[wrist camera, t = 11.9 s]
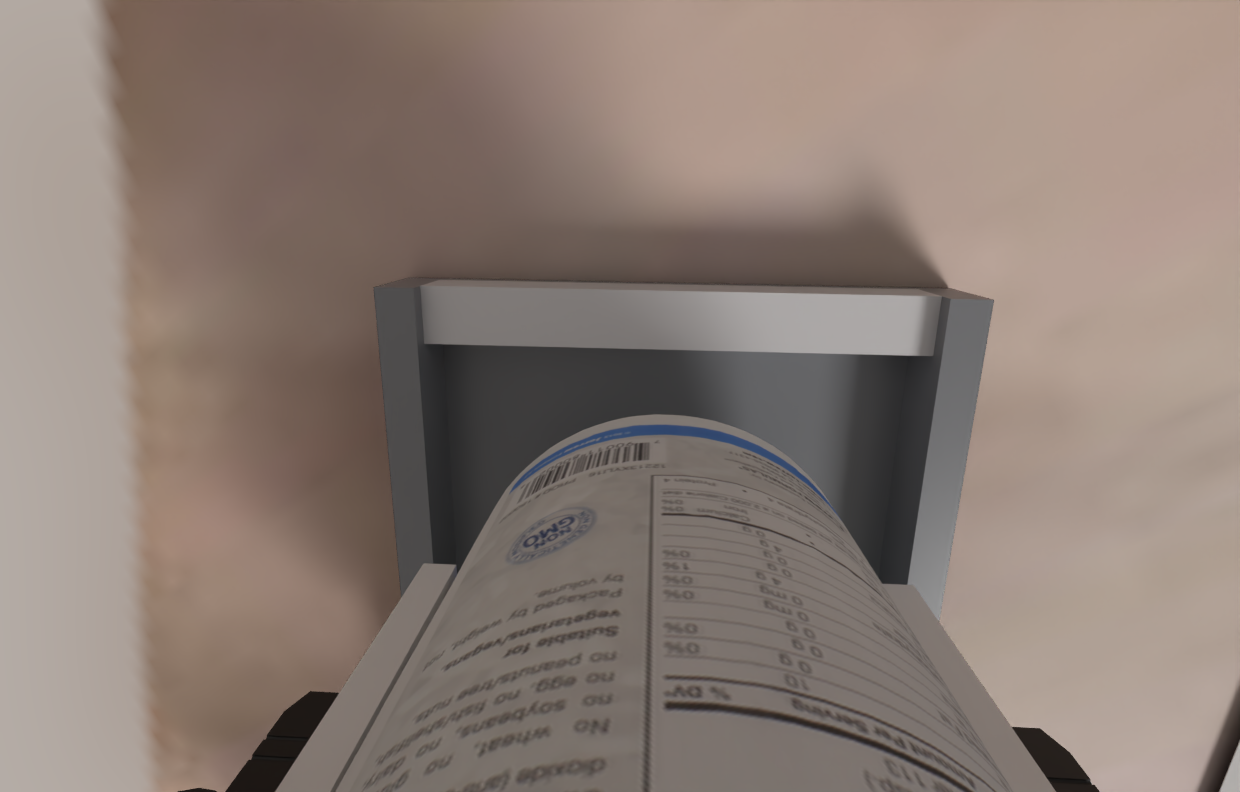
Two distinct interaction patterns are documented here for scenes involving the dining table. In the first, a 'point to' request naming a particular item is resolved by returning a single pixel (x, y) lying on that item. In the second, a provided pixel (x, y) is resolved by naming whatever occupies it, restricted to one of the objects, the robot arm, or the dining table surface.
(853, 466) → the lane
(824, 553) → the supplement tub
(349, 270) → the dining table surface
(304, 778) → the robot arm
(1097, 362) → the dining table surface
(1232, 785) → the paper stack
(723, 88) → the dining table surface
